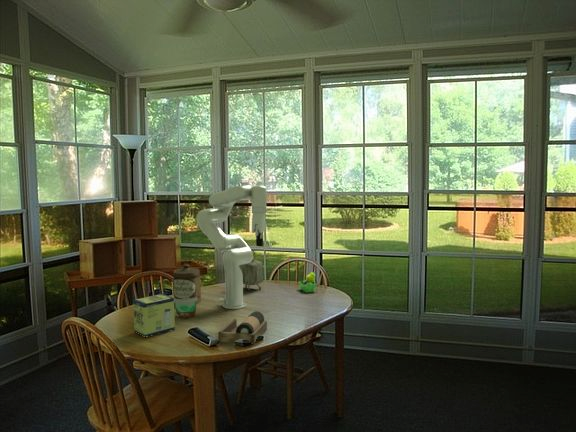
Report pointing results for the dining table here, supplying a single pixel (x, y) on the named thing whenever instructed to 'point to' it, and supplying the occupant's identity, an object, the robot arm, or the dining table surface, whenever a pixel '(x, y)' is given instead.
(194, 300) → the food container
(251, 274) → the tabletop clock
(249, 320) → the travel mug
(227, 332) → the tray
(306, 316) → the dining table surface
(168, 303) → the protein box
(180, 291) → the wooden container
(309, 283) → the fruit basket
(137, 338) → the dining table surface
